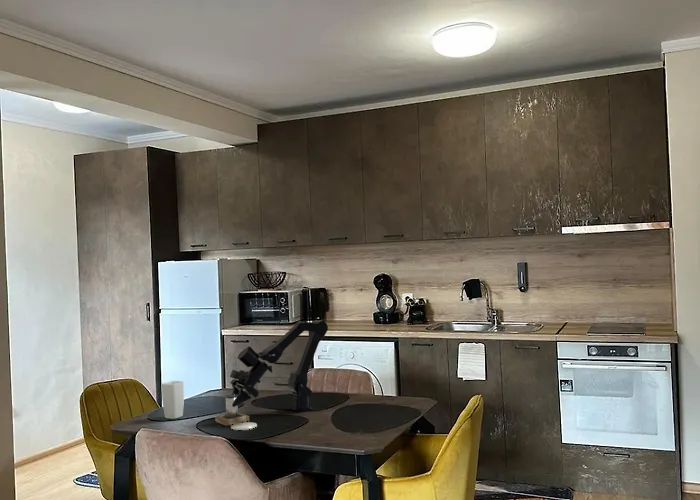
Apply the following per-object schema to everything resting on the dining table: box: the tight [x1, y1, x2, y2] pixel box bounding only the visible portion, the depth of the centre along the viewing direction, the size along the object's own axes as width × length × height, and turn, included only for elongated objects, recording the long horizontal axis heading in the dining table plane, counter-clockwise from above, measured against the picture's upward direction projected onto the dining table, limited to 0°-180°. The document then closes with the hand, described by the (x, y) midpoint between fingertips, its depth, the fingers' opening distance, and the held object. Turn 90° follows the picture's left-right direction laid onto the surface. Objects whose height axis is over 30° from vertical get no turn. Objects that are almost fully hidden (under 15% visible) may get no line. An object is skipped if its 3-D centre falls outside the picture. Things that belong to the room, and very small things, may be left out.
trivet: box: [230, 421, 258, 431], centre depth 250 cm, size 10×10×1 cm
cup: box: [161, 380, 185, 420], centre depth 270 cm, size 7×7×15 cm
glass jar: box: [224, 392, 239, 419], centre depth 260 cm, size 5×5×11 cm
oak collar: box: [214, 412, 250, 427], centre depth 260 cm, size 10×10×2 cm
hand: (230, 405), depth 260 cm, fingers closed on glass jar, 5 cm apart
